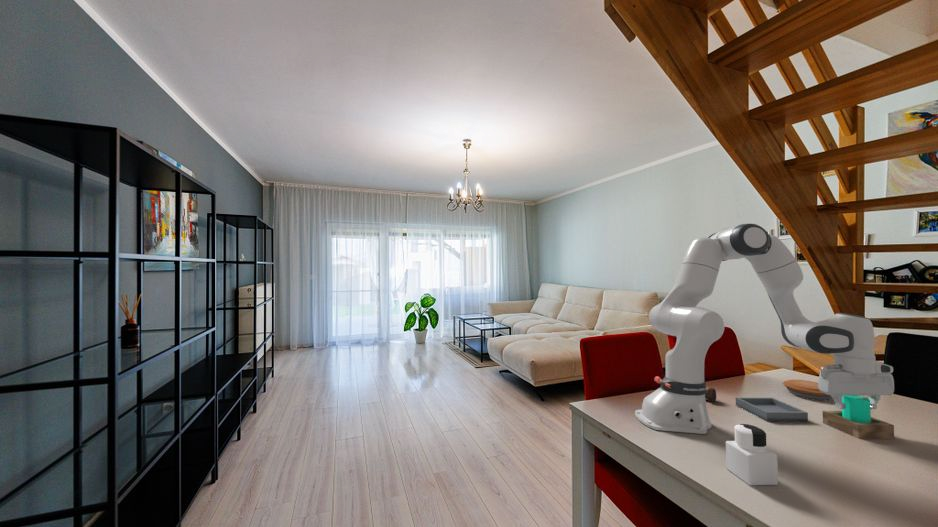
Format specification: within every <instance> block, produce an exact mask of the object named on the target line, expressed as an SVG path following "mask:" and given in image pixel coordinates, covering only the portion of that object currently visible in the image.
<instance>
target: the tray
mask: <svg viewBox="0 0 938 527" xmlns="http://www.w3.org/2000/svg"><path fill="white" fill-rule="evenodd" d="M736 405H737V406H736ZM735 406H736V407H738V406H739V407H738V408H740V409H742V408H743V409H742V410H743V411H745V410H746V412H747V411H748V412H747V413H749V412H750V413H749V414H751V413H752V415H753V414H754V415H753V416H755V415H756V416H755V417H757V416H758V418H759V419H762V420H763V421H765V422H793V423H794V422H800V423H801V422H809V412H808V411H805V410H803V409H801V408H798V407H795V406H793V405H791V404H788V403H786V402H783V401H782V400H779V399H777V398H774V397H735Z"/></svg>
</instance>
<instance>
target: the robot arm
mask: <svg viewBox="0 0 938 527" xmlns="http://www.w3.org/2000/svg"><path fill="white" fill-rule="evenodd" d="M739 259H745V260H747V261H748V262H749V263H750V264H751V266H752V268H753V270H754V272H755V274H756V276H757V278H758V279H759V281H760V282H761V284H762V286H763V287H764V290H765V291H766V293H767V296H768V298H769V300H770V303H771V304H772V306H773V308H774V310H775V312H776V315H777V316H778V319H779V322H780V330H781V335H782V337H783V339H784V341H785V342H786V343H787V344H789V345H791V346H793V347H796V348H800V349H805V350H807V351H810V352H814V353H817V354H823V355H825V354H828V355H829V354H833V364H825V365H824V366H822V367H821V368H820V371H819V372H820V373H819V376H818V382H817V383H818V389H819V390H820V391H821V392H822V393H825V394H828V395H831V398H832V400H833V401H834V403H835V406H834V407H835V408H836V409H839V410H842V409H846V404H845V403H843V402H842V395H857V396H868V397H869V398H868V399H869V400H870V408H871V410H876V409H877V404H878V403H879V401H880V400H881V396H892V395H893V394H894V392H895V380H894V376H893V372H894V367H893V366H892V365H889V364H885V363H882V362H880V361H879V362H878V361H876V355H875V353H874V348H875V344H876V340H875V339H876V337H875V330H874V326H873V323H872V321H871V319H869V318H868V317H866V316H863V315H856V314H851V313H845V312H837V313H835V314H834V315H833V316H831V317H829V318H826V319H823V320H819V321H812V320H810V319H808V318H807V317H805V316H804V314H803V312H802V311H801V309H800V306H799V305H798V303H797V301H796V299H795V296H794V291H795V289H797V288H798V287H799V286H800V285H801V284H802V282H803V280H804V273H803V271H802V268H801V265H800V264H799V263H798V261H797V259H796V258H795V256H794V254H793V253H792V252H791V250H790V249H789V248H788V247H787V245H786V244H785V243H783V241H782V240H781V239H780V238H779V237H777V236H775V235H772V234H769V232H768V231H767V230H766V229H765V228H764V227H763V226H760V225H759V224H756V223H742V224H739V225H736V226H732V227H727V228H723V229H722V230H720V231H717V232H715V233H712V234H710V235H709V236H708V237H697V238H695V239H693V240H692V241H691V243H689V245H688V247H687V249H686V251H685V253H684V254H683V259H682V261H681V264H680V267H679V270H678V273H677V276H676V279H675V281H674V284H673V286H672V288H671V290H670V291H669V292H668V294H667V295H666V296H665V297H664V299H662V301H661V302H660V303H658V304H656V305H655V306H653V307H652V308H651V309H650V311H649V314H648V321H649V324H650V325H651V327H652V328H654V329H655V330H656V331H658V332H660V333H662V334H665V335H668V336H673V337H676V342H675V345H674V347H673V348H672V349H670V350H668V351H667V352H666V354H665V356H664V357H665V376H664V377H663V379H662V378H661V377H660V376H655V377H654V379H653V380H654V382H656V383H657V384H660V387H658V388H657V389H655V390H654V391H652V392H651V393H650V394H648V395H646V396H645V397H644V398H643V401H642V404H641V409H636V410H635V412H634V416H635V418H636V419H637V420H638V421H640V422H641V423H642V424H643V425H645V426H646V427H648V428H650V429H652V430H655V431H656V430H657V431H664V432H674V433H675V432H677V433H688V434H699V435H706V434H707V433H708V430H710V429H712V423H711V420H710V417H709V413H708V409H707V408H708V407H707V402H706V400H707V399H706V398H705V397H706V390H707V382H706V381H705V359H706V355H707V353H708V350H709V348H710V346H711V345H712V344H713V343H714V342H717V341H718V340H719V339H721V338H722V336H723V334H724V333H725V332H724V331H725V321H724V320H723V318H722V316H721V315H720V314H719V313H717V312H716V311H713V310H711V309H708V308H704V307H700V306H698V305H699V304H700V303H701V302H702V301H703V300H705V299H706V298H708V297H710V296H712V295H713V292H714V290H715V286H716V283H717V278H718V275H719V272H720V268H721V264H722V262H725V261H729V260H739Z"/></svg>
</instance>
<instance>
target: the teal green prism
mask: <svg viewBox="0 0 938 527" xmlns="http://www.w3.org/2000/svg"><path fill="white" fill-rule="evenodd" d="M841 400H842V402H843V403H845V404H846V409H841V411H842V417H844V418H847V419H849V420H852V421H854V422H857V423H871V417H872V414H871V413H872V411H871V410H872V409H871V408H870V400H869V398H868V397H864V396H861V395H842V399H841Z"/></svg>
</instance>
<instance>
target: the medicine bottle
mask: <svg viewBox="0 0 938 527" xmlns="http://www.w3.org/2000/svg"><path fill="white" fill-rule="evenodd" d="M725 462H726V463H725V466H726V467H725V468H726V470H728V471H729V472H731V473H732V474H734V475H735V476H736V477H737V478H738V479H740V480H742V481H743V482H744V483H746V484H747V485H748V486H775V485H776V486H777V485H779V473H778V470H779V469H778V455H777V453H775V452H773V451H771V450H769V449H768V448H767V433H766V432H765V430H763V429H762V428H760V427H757V426H755V425H752V424H748V423H747V424H746V423H739V424H735V425H734V440H726V441H725Z"/></svg>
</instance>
